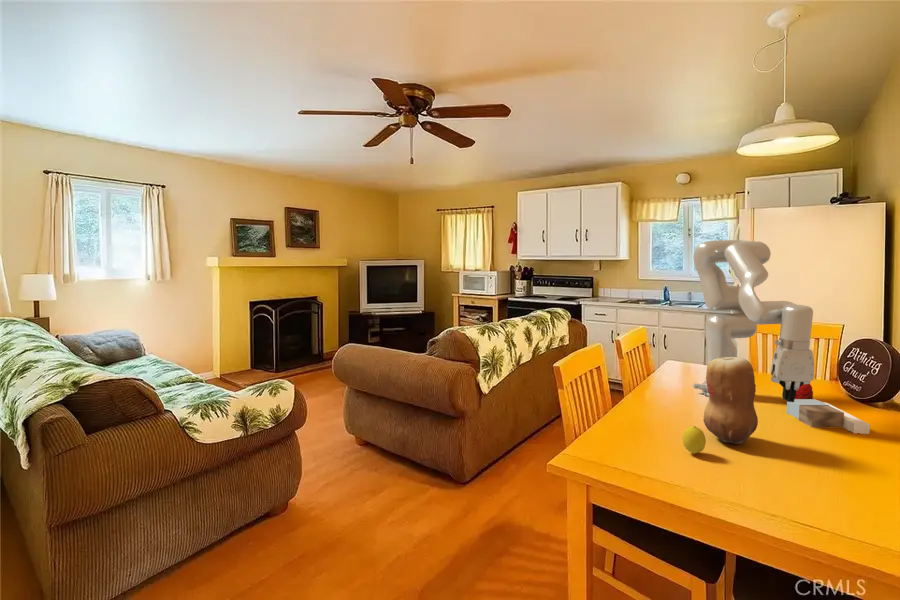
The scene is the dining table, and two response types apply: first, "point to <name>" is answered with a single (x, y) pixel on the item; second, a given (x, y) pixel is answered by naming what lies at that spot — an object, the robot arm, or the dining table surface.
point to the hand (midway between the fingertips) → (788, 400)
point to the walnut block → (821, 416)
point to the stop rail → (854, 423)
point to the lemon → (694, 439)
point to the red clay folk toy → (804, 392)
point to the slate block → (794, 406)
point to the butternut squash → (730, 399)
